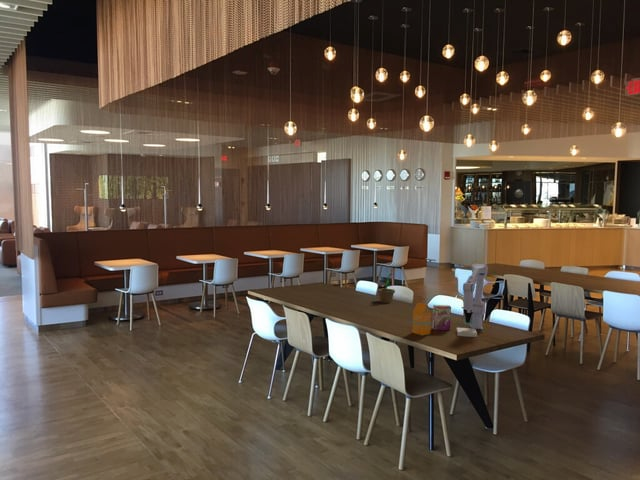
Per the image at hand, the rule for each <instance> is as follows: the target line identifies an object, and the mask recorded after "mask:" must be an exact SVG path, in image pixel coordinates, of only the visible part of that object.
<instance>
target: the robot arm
mask: <svg viewBox="0 0 640 480" xmlns="http://www.w3.org/2000/svg"><path fill="white" fill-rule="evenodd" d="M488 271H489V268H488V265H487V264H484V263H483V264H482V263H473V264H472V265H471V275H469V276H468V277H467V279H466V282H464V283H463V285H462V293H463V306H461V309H462V311H463V313H464V314H463V315H465V318H466V322H468V323H469V322H470V319H471V316H472V317H473V320H472V325H469V326H470V328H472V329H476V330H483V329H484V328H483V327H484V326H483V316H484V315H485V314H486V304H485V302H484V301H483V290H484V283H485V281H484V280H485V278H486V277H487V276H488ZM474 291H475V293H474Z"/></svg>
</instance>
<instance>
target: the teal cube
mask: <svg viewBox="0 0 640 480" xmlns="http://www.w3.org/2000/svg"><path fill="white" fill-rule="evenodd" d="M472 320H473V317H472V316H471V319H470V322H469V323H468V322H466V318H465V314H463V324H464V325H468V326H470V325H472Z"/></svg>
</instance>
